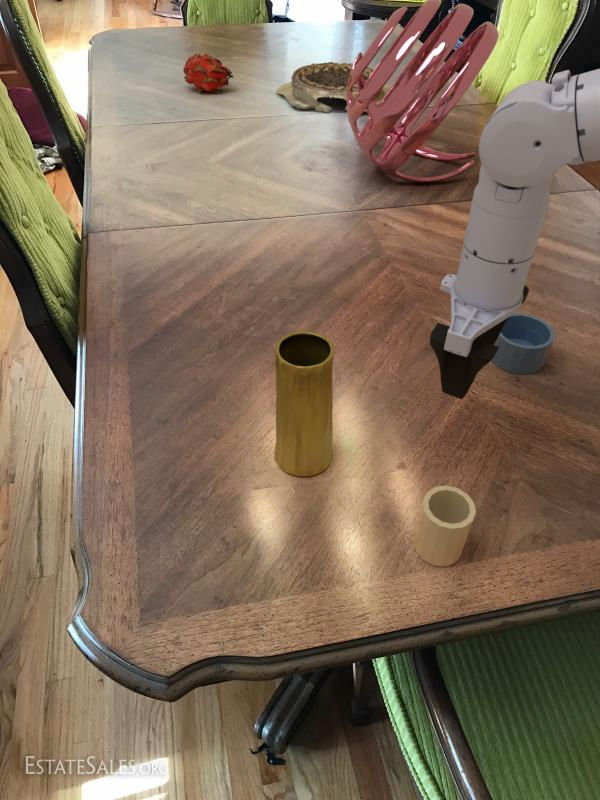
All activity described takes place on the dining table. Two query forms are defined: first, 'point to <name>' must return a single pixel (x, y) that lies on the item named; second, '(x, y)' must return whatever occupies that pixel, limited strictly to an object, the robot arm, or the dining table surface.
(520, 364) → the bowl
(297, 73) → the pie
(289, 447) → the vase
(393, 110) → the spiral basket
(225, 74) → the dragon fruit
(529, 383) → the dining table surface
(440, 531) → the cup
